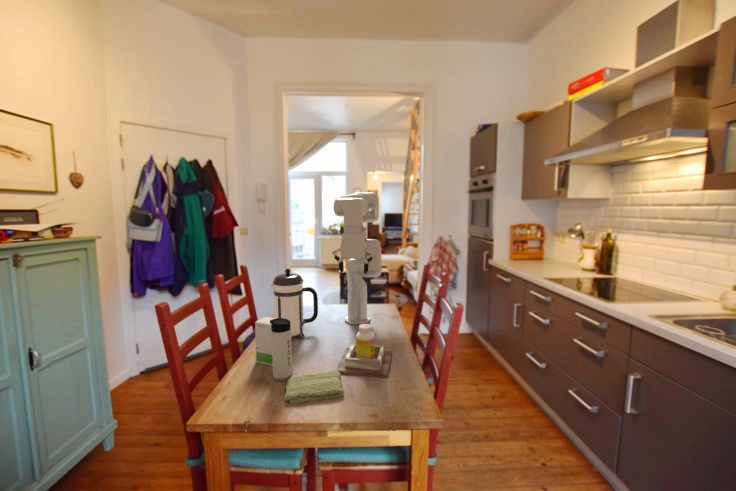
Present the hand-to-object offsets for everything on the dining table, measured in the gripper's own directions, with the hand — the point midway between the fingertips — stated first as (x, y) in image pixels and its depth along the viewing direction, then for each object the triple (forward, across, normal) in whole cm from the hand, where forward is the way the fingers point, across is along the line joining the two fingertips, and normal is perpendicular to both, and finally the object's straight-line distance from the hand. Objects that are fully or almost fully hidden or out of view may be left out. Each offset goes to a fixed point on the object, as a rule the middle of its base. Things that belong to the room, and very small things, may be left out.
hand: (353, 272), depth 130 cm
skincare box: (+31, +28, +18) cm, 45 cm away
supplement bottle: (+30, -7, +14) cm, 33 cm away
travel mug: (+31, +19, +28) cm, 46 cm away
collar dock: (+30, -7, +14) cm, 34 cm away
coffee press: (+31, +29, -6) cm, 43 cm away
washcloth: (+31, +6, +34) cm, 46 cm away
